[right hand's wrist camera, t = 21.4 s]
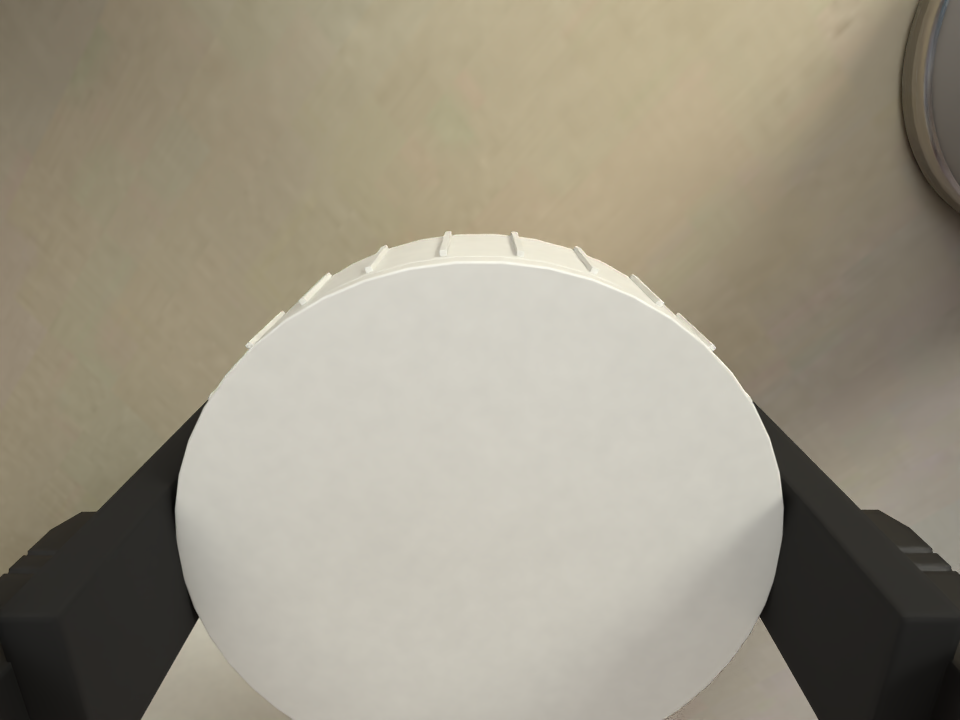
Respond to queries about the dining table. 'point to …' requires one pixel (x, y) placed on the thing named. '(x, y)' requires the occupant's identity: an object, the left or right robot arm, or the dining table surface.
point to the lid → (479, 494)
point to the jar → (207, 687)
